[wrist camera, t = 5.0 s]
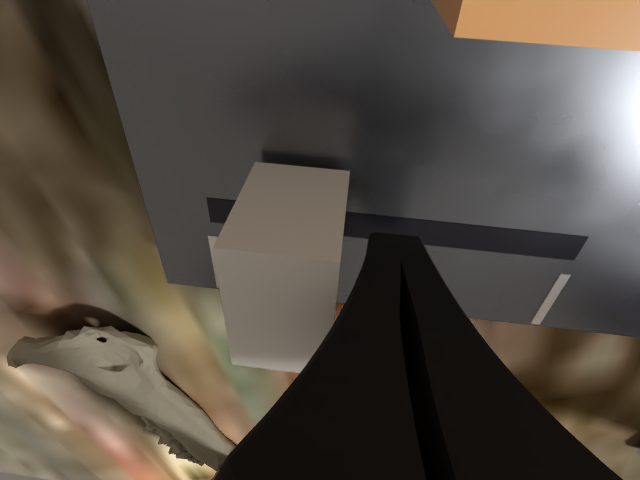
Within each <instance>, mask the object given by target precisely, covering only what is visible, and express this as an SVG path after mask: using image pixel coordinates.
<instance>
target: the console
mask: <svg viewBox="0 0 640 480" xmlns="http://www.w3.org/2000/svg"><path fill="white" fill-rule="evenodd" d="M87 3H88V7H89V10H90V14H91V17H92V21H93V24H94V28H95V31H96V35H97V38H98V42H99V45H100V49H101V52H102V55H103V59H104V62H105V66H106V69H107V73H108V76H109V80H110V83H111V87H112V90H113V94H114V97H115V101H116V104H117V108H118V111H119V115H120V118H121V122H122V125H123V129H124V132H125V136H126V139H127V143H128V146H129V150H130V153H131V157H132V160H133V163H134V167H135V170H136V174H137V177H138V181H139V184H140V188H141V191H142V195H143V198H144V202H145V205H146V209H147V212H148V216H149V219H150V223H151V226H152V230H153V233H154V237H155V240H156V244H157V247H158V251H159V254H160V258H161V261H162V265H163V268H164V271H165V275H166V278H167V282H168V283H172V284H181V285H189V286H198V287H207V288H215V289H219V283H218V277H217V271H216V265H215V259H214V254H213V246H214V244H215V242H216V240H217V238H218V236H219V234H220V232H221V230H222V228H223V226H224V224H225V222H226V220H227V218H228V216H229V214H230V212H231V210H232V208H233V206H234V204H235V202H236V200H237V198H238V196H239V194H240V192H241V189H242V187H243V185H244V183H245V181H246V179H247V177H248V175H249V173H250V171H251V169H252V167H253V165H254V163H255V162H262V163H272V164H283V165H293V166H303V167H314V168H324V169H334V170H345V171H350V176H349V185H348V195H347V204H346V214H345V223H344V233H343V242H342V252H341V261H340V271H339V280H338V289H337V299H336V302H337V303H345V302H346V301H347V299H348V297H349V295H350V293H351V291H352V289H353V287H354V284H355V282H356V280H357V277H358V275H359V273H360V270H361V268H362V265H363V262H364V259H365V256H366V250H367V244H368V238H369V235H370V234H371V233H373V232H380V233H389V234H399V235H408V236H418V237H419V238H420V239H421V240H422V242H423V244H424V246H425V248H426V250H427V252H428V253H429V255H430V257H431V259H432V261H433V263H434V265H435V266H436V268H437V270H438V272H439V273H440V275H441V277H442V278H443V280H444V282H445V283H446V285H447V287H448V288H449V290H450V291H451V293H452V294H453V296H454V298H455V299H456V301H457V302H458V304H459V305H460V307H461V308H462V310H463V311H464V313H465V314H466V316H467V317H468V318H476V319H484V320H493V321H502V322H510V323H519V324H528V325H536V326H545V327H554V328H562V329H571V330H580V331H588V332H597V333H606V334H614V335H623V336H632V337H640V51H628V50H615V49H602V48H589V47H576V46H563V45H550V44H537V43H523V42H510V41H497V40H484V39H471V38H458V37H453V35H452V33H451V32H450V30H449V29H448V27H447V25H446V24H445V22H444V21H443V19H442V18H441V16H440V14H439V13H438V11H437V10H436V8H435V6H434V5H433V3H432V2H431V0H87Z"/></svg>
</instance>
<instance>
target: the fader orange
mask: <svg viewBox="0 0 640 480" xmlns="http://www.w3.org/2000/svg"><path fill="white" fill-rule="evenodd" d="M431 2H432V3H433V5H434V6H435V8H436V10H437V11H438V13H439V14H440V16H441V18H442V19H443V21H444V22H445V24H446V25H447V27H448V29H449V30H450V32H451V33H452V35H453V37H458V38H471V39H484V40H497V41H510V42H523V43H537V44H550V45H563V46H576V47H589V48H602V49H615V50H628V51H640V0H431Z"/></svg>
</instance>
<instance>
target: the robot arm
mask: <svg viewBox="0 0 640 480" xmlns="http://www.w3.org/2000/svg"><path fill="white" fill-rule="evenodd" d="M637 453H638V455H639V457H640V448H639V449H638V450H637ZM214 480H623V479H622V478H620V477H619V476H618V475H617V474H616V473H614V472H613V471H612V470H611V469H610V468H608V467H607V466H606V465H605V464H604V463H603V462H601V461H600V460H599V459H598V458H597V457H596V456H595V455H594V454H593V453H592V452H590V451H589V450H588V449H587V448H586V447H585V446H584V445H583V444H582V443H581V442H580V441H578V440H577V439H576V438H575V437H574V436H573V435H572V434H571V433H570V432H569V431H568V430H567V429H565V428H564V427H563V426H562V425H561V424H560V423H559V422H558V421H557V420H556V419H555V418H554V417H553V416H552V415H551V414H550V413H549V412H548V411H547V410H546V409H545V408H544V407H543V406H542V405H541V403H540V402H539V401H538V400H537V399H536V398H535V397H534V396H533V395H532V394H531V393H530V392H529V391H528V390H527V389H526V388H525V387H524V386H523V385H522V384H521V383H520V382H519V381H518V379H517V378H516V377H515V376H514V375H513V374H512V373H511V372H510V371H509V369H508V368H507V367H506V366H505V365H504V364H503V362H502V361H501V360H500V359H499V358H498V356H497V355H496V354H495V353H494V352H493V350H492V349H491V348H490V347H489V345H488V344H487V343H486V342H485V340H484V339H483V338H482V336H481V335H480V334H479V332H478V331H477V330H476V328H475V327H474V325H473V324H472V323H471V321H470V320H469V318H468V317H467V316H466V314H465V313H464V311H463V310H462V308H461V307H460V305H459V304H458V302H457V301H456V299H455V298H454V296H453V294H452V293H451V291H450V290H449V288H448V287H447V285H446V283H445V282H444V280H443V278H442V277H441V275H440V273H439V272H438V270H437V268H436V266H435V265H434V263H433V261H432V259H431V257H430V255H429V253H428V252H427V250H426V248H425V246H424V244H423V242H422V240H421V239H420V238H419V237H418V236H408V235H399V234H389V233H380V232H373V233H371V234H370V235H369V238H368V244H367V250H366V256H365V259H364V262H363V265H362V268H361V270H360V273H359V275H358V277H357V280H356V282H355V284H354V287H353V289H352V291H351V293H350V295H349V297H348V299H347V301H346V302H345V304H344V306H343V308H342V310H341V312H340V314H339V316H338V317H337V319H336V321H335V322H334V324H333V326H332V327H331V329H330V331H329V332H328V334H327V335H326V337H325V338H324V340H323V342H322V343H321V345H320V346H319V347H318V349H317V350H316V352H315V353H314V355H313V356H312V357H311V359H310V360H309V362H308V363H307V364H306V366H305V367H304V368H303V370H302V371H301V372H300V374H299V375H298V376H297V378H296V379H295V380H294V381H293V383H292V384H291V385H290V386H289V387H288V389H287V390H286V391H285V392H284V393H283V395H282V396H281V397H280V398H279V400H278V401H277V402H276V403H275V404H274V406H273V407H272V408H271V409H270V410H269V411H268V413H267V414H266V415H265V416H264V417H263V418H262V419H261V420H260V421H259V423H258V424H257V425H256V426H255V427H254V428H253V429H252V430H251V431H250V432H249V433H248V434H247V435H246V436H245V437H244V438H243V440H242V441H241V442H240V443H239V444H238V445H237V446H236V447H235V448H234V449H233V450H232V451H231V452H230V453H229V455H228V456H227V458H226V460H225V461H224V463H223V465H222V466H221V468H220V470H219V472H218V473H217V475H216V477H215V478H214Z"/></svg>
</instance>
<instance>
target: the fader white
mask: <svg viewBox="0 0 640 480" xmlns="http://www.w3.org/2000/svg"><path fill="white" fill-rule="evenodd" d="M349 176H350V171H345V170H334V169H324V168H314V167H303V166H293V165H283V164H272V163H262V162H255V163H254V165H253V167H252V169H251V171H250V173H249V175H248V177H247V179H246V181H245V183H244V185H243V187H242V189H241V192H240V194H239V196H238V198H237V200H236V202H235V204H234V206H233V208H232V210H231V212H230V214H229V216H228V218H227V220H226V222H225V224H224V226H223V228H222V230H221V232H220V234H219V236H218V238H217V240H216V242H215V244H214V246H213V254H214V259H215V265H216V271H217V277H218V283H219V289H220V295H221V301H222V307H223V313H224V318H225V324H226V330H227V336H228V342H229V348H230V354H231V360H232V365H240V366H248V367H256V368H264V369H272V370H280V371H288V372H296V373H300V372H301V371H302V370H303V368H304V367H305V366H306V364H307V363H308V362H309V360H310V359H311V357H312V356H313V355H314V353H315V352H316V350H317V349H318V347H319V346H320V345H321V343H322V342H323V340H324V338H325V337H326V335H327V334H328V332H329V331H330V329H331V327H332V326H333V324H334V317H335V308H336V299H337V289H338V280H339V271H340V261H341V252H342V242H343V233H344V223H345V214H346V204H347V195H348V185H349Z"/></svg>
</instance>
